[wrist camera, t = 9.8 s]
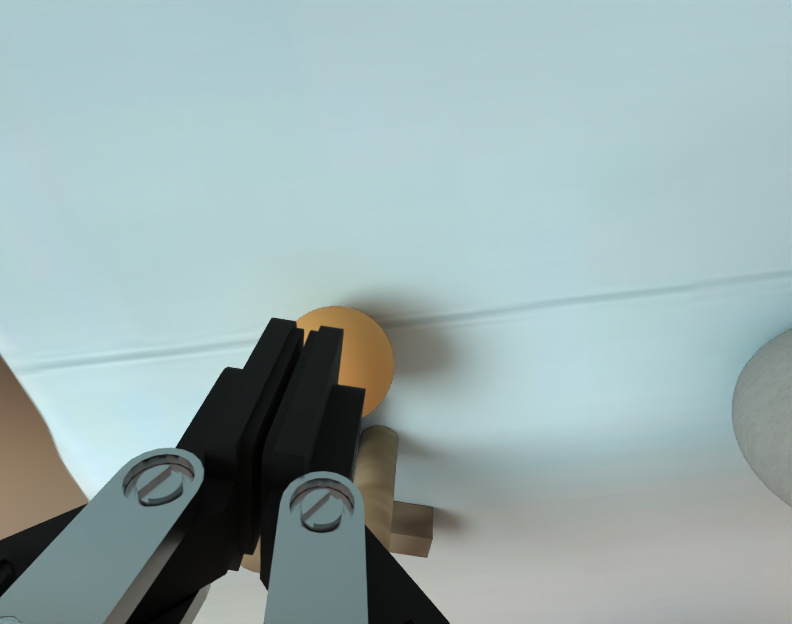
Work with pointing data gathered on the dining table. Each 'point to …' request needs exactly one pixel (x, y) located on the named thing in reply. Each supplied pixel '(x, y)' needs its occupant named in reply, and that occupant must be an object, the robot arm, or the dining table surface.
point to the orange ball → (357, 351)
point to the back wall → (411, 529)
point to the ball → (767, 415)
